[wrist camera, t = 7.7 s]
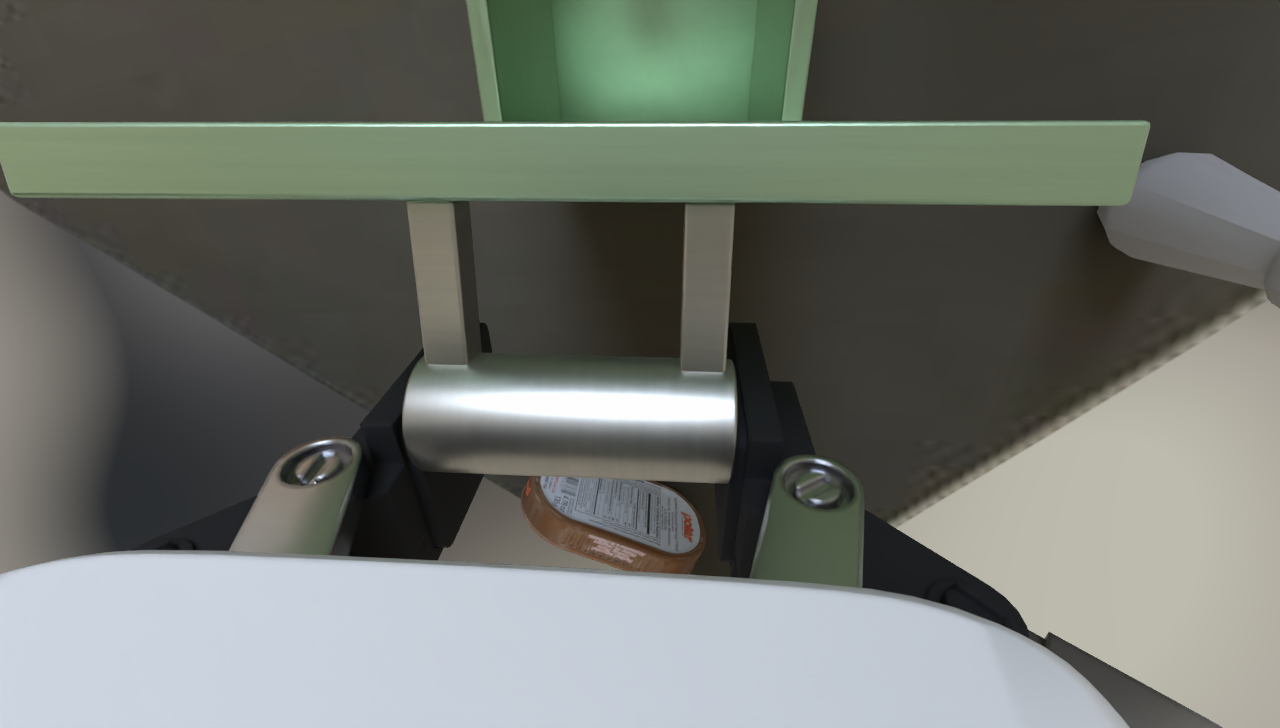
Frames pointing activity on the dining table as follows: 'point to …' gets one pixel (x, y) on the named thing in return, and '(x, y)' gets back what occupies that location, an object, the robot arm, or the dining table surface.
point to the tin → (616, 522)
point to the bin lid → (579, 172)
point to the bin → (642, 59)
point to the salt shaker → (1201, 221)
